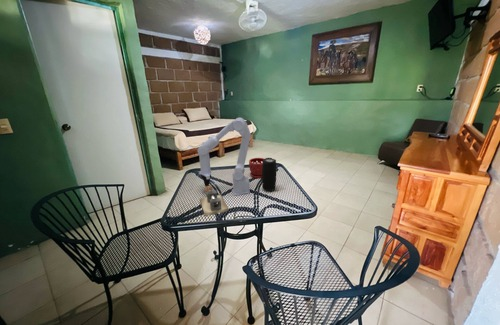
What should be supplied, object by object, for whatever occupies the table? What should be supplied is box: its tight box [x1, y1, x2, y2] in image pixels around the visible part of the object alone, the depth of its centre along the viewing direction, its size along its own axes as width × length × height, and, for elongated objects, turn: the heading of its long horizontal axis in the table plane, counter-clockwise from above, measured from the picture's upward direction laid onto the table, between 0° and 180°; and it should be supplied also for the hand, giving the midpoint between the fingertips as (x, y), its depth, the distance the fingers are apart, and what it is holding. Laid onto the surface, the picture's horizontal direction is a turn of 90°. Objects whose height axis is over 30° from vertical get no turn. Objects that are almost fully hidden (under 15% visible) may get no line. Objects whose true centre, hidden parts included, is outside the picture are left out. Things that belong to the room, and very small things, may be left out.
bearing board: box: [199, 189, 229, 217], centre depth 107 cm, size 12×16×7 cm
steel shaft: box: [204, 184, 217, 204], centre depth 110 cm, size 4×18×4 cm, turn 22°
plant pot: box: [248, 157, 265, 179], centre depth 145 cm, size 13×13×12 cm
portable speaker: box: [261, 157, 277, 193], centre depth 123 cm, size 9×9×20 cm
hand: (207, 186), depth 122 cm, fingers closed
